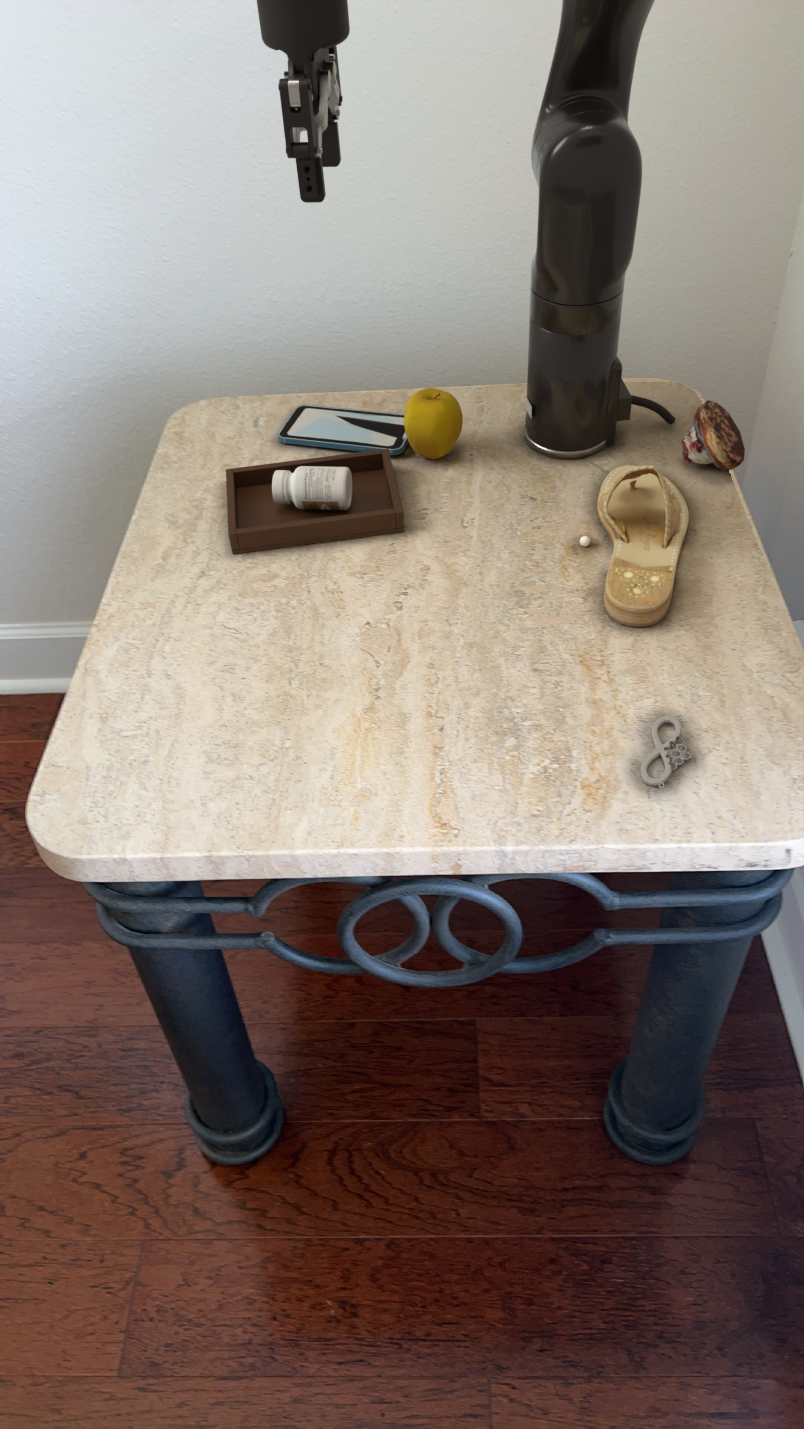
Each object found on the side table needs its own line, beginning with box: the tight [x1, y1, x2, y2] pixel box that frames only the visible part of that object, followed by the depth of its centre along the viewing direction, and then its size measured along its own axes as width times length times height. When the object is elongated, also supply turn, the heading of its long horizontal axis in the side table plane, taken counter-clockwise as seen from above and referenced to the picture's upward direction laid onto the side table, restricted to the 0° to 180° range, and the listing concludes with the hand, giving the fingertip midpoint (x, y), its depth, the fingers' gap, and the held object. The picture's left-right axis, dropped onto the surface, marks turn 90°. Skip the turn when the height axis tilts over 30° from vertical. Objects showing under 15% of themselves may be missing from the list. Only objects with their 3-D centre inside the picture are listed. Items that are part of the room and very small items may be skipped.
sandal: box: [596, 464, 690, 628], centre depth 100 cm, size 13×23×8 cm, turn 150°
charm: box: [640, 714, 692, 789], centre depth 84 cm, size 8×1×4 cm
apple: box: [403, 387, 464, 460], centre depth 112 cm, size 6×6×8 cm
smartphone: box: [277, 404, 409, 456], centre depth 119 cm, size 7×1×15 cm
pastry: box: [679, 399, 746, 471], centre depth 110 cm, size 8×8×5 cm
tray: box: [225, 449, 405, 555], centre depth 109 cm, size 18×12×2 cm, turn 98°
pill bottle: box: [272, 466, 352, 510], centre depth 108 cm, size 4×4×8 cm
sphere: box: [579, 535, 598, 595], centre depth 101 cm, size 1×8×1 cm, turn 3°
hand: (321, 182), depth 97 cm, fingers open, 8 cm apart
